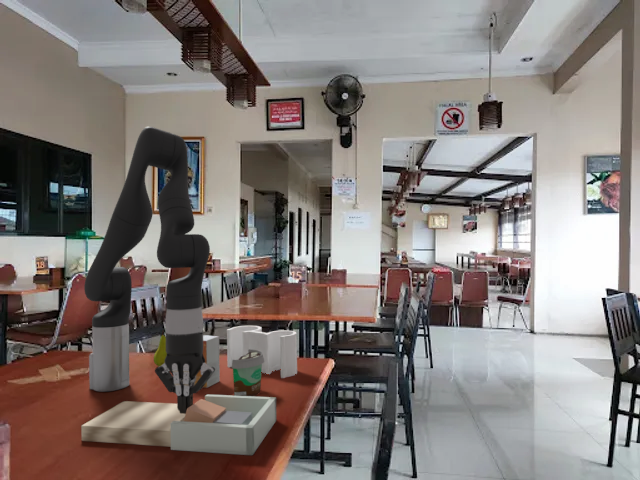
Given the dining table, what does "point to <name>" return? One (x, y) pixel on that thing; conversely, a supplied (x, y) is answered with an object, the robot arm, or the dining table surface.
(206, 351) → the small box
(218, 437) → the tray
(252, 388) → the food container
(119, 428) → the beige slab
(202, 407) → the tile
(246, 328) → the bracket
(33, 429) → the dining table surface
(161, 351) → the fruit
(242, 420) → the tile
